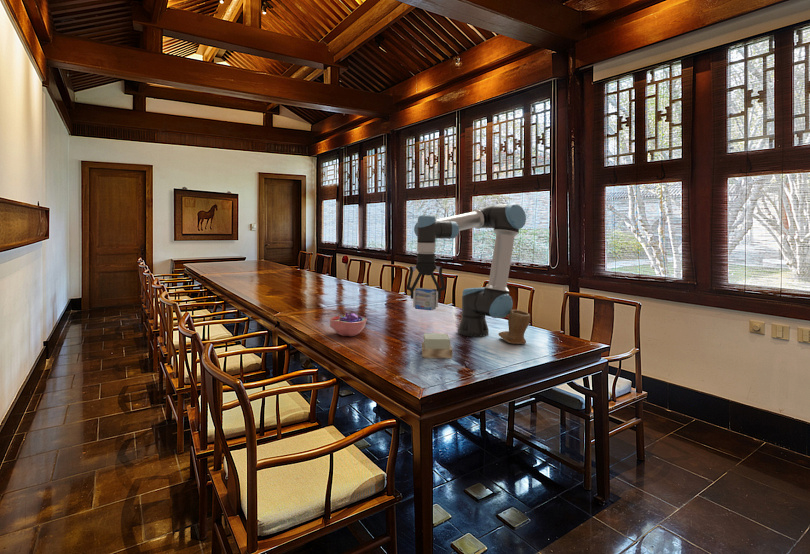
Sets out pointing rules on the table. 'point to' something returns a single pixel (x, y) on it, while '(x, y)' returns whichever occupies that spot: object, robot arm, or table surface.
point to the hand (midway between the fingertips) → (425, 306)
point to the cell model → (348, 324)
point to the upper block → (436, 341)
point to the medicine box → (425, 299)
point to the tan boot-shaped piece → (516, 327)
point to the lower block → (436, 352)
